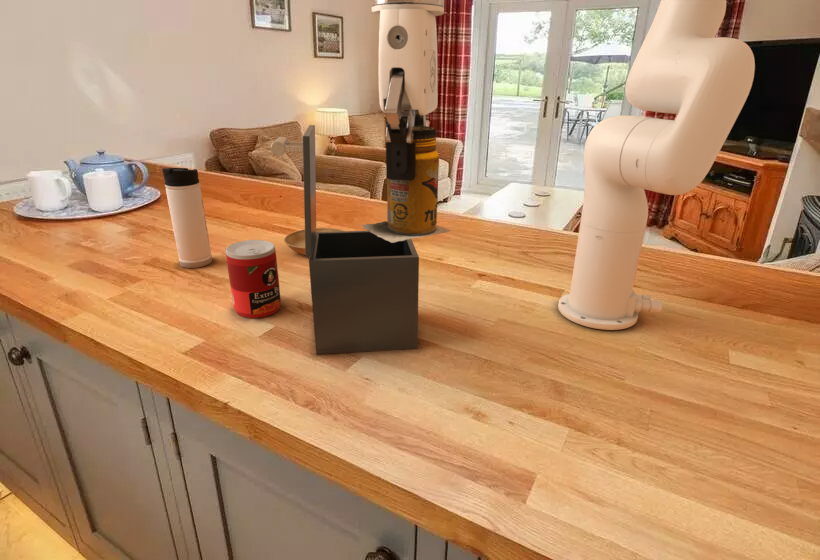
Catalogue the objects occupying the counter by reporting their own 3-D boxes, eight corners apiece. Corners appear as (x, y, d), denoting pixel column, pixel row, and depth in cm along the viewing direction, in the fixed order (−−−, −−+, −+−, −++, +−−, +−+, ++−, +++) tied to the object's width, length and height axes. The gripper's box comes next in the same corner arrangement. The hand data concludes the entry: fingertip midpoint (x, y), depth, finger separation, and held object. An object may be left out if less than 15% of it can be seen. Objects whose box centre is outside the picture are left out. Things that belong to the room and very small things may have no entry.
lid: (315, 125, 70) (278, 123, 69) (309, 136, 58) (265, 134, 57) (316, 229, 76) (282, 228, 75) (311, 257, 64) (271, 257, 63)
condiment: (451, 232, 59) (456, 128, 55) (392, 244, 55) (391, 133, 50) (416, 218, 65) (418, 123, 60) (360, 228, 60) (357, 126, 56)
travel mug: (171, 266, 100) (152, 167, 92) (195, 256, 106) (179, 162, 98) (195, 270, 98) (177, 170, 90) (218, 260, 104) (204, 164, 96)
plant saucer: (275, 257, 105) (273, 246, 104) (297, 236, 119) (296, 226, 118) (342, 261, 104) (341, 249, 103) (357, 239, 117) (356, 228, 116)
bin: (407, 310, 83) (407, 229, 77) (417, 348, 72) (419, 257, 66) (319, 314, 81) (313, 231, 76) (316, 354, 70) (308, 261, 64)
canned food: (257, 323, 78) (248, 258, 74) (223, 311, 82) (214, 249, 78) (291, 305, 84) (285, 245, 80) (259, 294, 88) (251, 236, 84)
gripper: (429, -16, 42) (426, 191, 49) (454, 7, 58) (448, 162, 65) (346, -14, 43) (354, 188, 51) (392, 8, 59) (393, 160, 66)
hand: (407, 172), depth 58 cm, fingers closed on condiment, 6 cm apart
